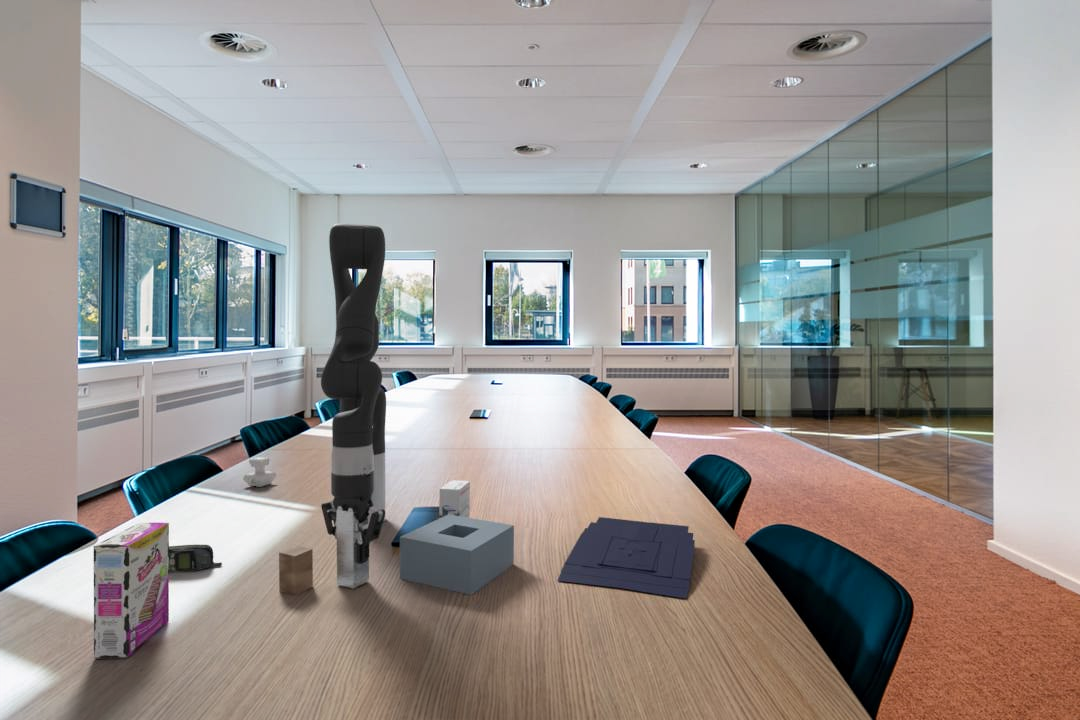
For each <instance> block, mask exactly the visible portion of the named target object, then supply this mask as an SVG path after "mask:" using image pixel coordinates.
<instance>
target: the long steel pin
mask: <svg viewBox="0 0 1080 720" xmlns="http://www.w3.org/2000/svg"><path fill="white" fill-rule="evenodd" d="M354 513H357V512H348V510H347V509H345V510H337V540H336V584H337V585H339V586H342V587H346V588H350V589H355V588H357V587H359V586H362V585H363V584H365V583H367V582H369V581H370V558H369V559H368V560H367V561H366V562H365V563H362V564H358V563H357V544H358V542H357V533H356V532H355V524H354V515H353V514H354ZM365 522H366V520H365V521H364V522H363V523H361V524H359V526H362V525H364V524H365ZM362 533H363V536H364V530H363V531H362Z"/></svg>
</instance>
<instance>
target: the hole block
mask: <svg viewBox="0 0 1080 720" xmlns="http://www.w3.org/2000/svg"><path fill="white" fill-rule="evenodd" d="M514 543H515V525H514V524H507V523H503V522H502V523H501V522H496V521H489V520H483V519H477V518H472V517H469V518H467V517H461V516H455V515H446V516H444V517H442V518H439V517H438V518H437V519H436V520H434V521H431V522H429V523H427V524H425V525H423V526H420V527H418V528H416V529H414V530H412V531H410V532H407V533H406V534H405V533H404V534H403V535H400V536H399V579H401V580H405V581H409V582H414V583H419V584H424V585H426V586H427V585H428V586H432V587H436V588H440V589H444V590H447V591H453V592H458V593H461V594H465V595H466V594H467V595H470V596H471V595H473V594H474V593H476V592H477V591H479V590H480V589H481V588H483V587H484V586H486V585H487V584H488V583H490V582H491V581H493V580H494V579H495V578H497V577H498V576H499V575H501V574H502V573H504V572H505V571H506V570H508V569H509V568H510V567H512V566H513V565H514V559H515V558H514V557H515V553H514V551H515V544H514Z"/></svg>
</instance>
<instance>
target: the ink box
mask: <svg viewBox="0 0 1080 720" xmlns="http://www.w3.org/2000/svg"><path fill="white" fill-rule="evenodd" d="M470 493H471V481H469V480H455V479H454V480H453V479H452V480H450V481H449V482H447V483H446V484H444V485H443V486H442V487H440V488H439V504H438V505H439V509H438V510H439V511H438V512H439V514H438V519H439V518H442V517H444V516H446V515H455V516H461V517H467V518H470V510H471V509H470V507H471V506H470V503H471V502H470V501H471V499H470V495H471V494H470Z"/></svg>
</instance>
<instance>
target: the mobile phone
mask: <svg viewBox="0 0 1080 720" xmlns="http://www.w3.org/2000/svg"><path fill="white" fill-rule="evenodd" d="M222 565H223V564H222V562H214V551H213V548H212V546H211V545H209V544H183V545H169V574H172V573H173V574H174V573H175V574H177V572H179V573H192V572H196V571H200V570H204V569H207V568H213V567H215V568H216V567H221V566H222Z"/></svg>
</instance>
